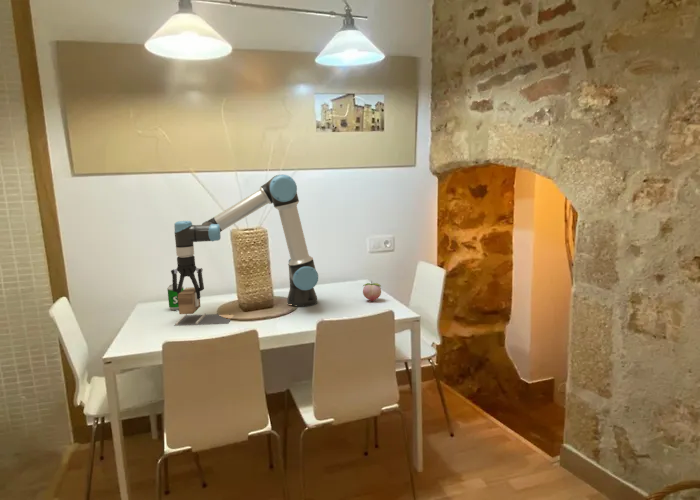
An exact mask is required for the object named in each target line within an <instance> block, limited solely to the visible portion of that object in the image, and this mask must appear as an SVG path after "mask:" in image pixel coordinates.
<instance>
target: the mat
mask: <svg viewBox="0 0 700 500" xmlns="http://www.w3.org/2000/svg"><path fill="white" fill-rule="evenodd" d="M218 314H219V313H214V314H213V313H210V314H206V313H203V314H183V316H182V317H180V319H178V320H177V321H176V323H175V324H174V325H173V326H174V327H177V326H179V327H180V326H203V325H204V326H205V325H228V324H230V323H231V321H232V320H230V319H226V318H223V317H221V316H219V315H218Z"/></svg>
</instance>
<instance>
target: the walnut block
mask: <svg viewBox="0 0 700 500" xmlns="http://www.w3.org/2000/svg"><path fill="white" fill-rule="evenodd" d="M195 292H196V290H195V288H194V286H193V287H185V288H184V290H183V291H182V292H180V293H179V294H178V304H179V310H178V313H179V314H178V315H185V314H187V315H194V314H195V313H196V312H197V310H198V309H200V308H201V298H200V299H199V306H198V307H196V305H195Z"/></svg>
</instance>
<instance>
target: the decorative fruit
mask: <svg viewBox="0 0 700 500" xmlns="http://www.w3.org/2000/svg"><path fill="white" fill-rule="evenodd" d="M362 287H363V290H362V294H363V296H364V298H366V299H367V300H369V301H371V302H374V301H376V300H377V299H379V297H381V294H382V288H381V287H382V285H381V284H379V283H377V282H376V283H375V282H374V283H373V281H371V283H369V282H367V283H365V284H363V286H362Z"/></svg>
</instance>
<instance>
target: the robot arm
mask: <svg viewBox="0 0 700 500" xmlns="http://www.w3.org/2000/svg"><path fill="white" fill-rule="evenodd" d="M297 191H298V188H297V183H296V181H295V180H294V179H293V178H292V177H291V176H289V175H287V174H277V175H274V176H273V177H272V178H270V180H268V181H267V182H265V183H264V184H262V185H261V186H260V187H259V189H258V190H256V191H254V192H253V193H251V194H250V195H248V196H246V197H245V198H243V199H242V200H240V201H238V202H236V203H235V204H233V205H231V206H230V207H228V208H227V209H225V210H224V211H222V212H220V213H218V214H217V215H215V216H213V217H211V218H210V219H208V220H205V221H204V222H202V224H193V222H192V221H191V220H179V221H176V222H175V223H174V226H173V227H174V241H175V252H176V256H177V257H176V262H177V264H176V265H177V267H176V268H173V269H171V270H170V273H171V277H172V280H171V281H172V284H173V292H177V295H178V294H179V293H180V292H181V291H182V290H181V289H182V286H184V280H185V278H186V277H189V278H190V280H191V282H192V285H193V287H194V288H195V290H196V292H195V305H196V307H198V306H199V299H200V300H201V292H202V291H203V290H204V289H205V287H204V277H203V268H202V267H201V268H199V267H197V266H196V258H195V256H194V255H195V247H194V246H195V245H194V243H198V242H199V243H200V242H215V241H220V240H221V232H223V231H224V230H226V229H228V228H229V227H231V226H233V225H235V224H236V223H238V222H239V221H241V220H242V219H245V217H247V216H250V215H251V214H254V213H255V212H256V211H259V209H261V208H264V206H266V205H268V204H269V205H272V204H273V207H274V209H276V210H277V211H278V214H279V219H280V223H281V225H282V230H283V233H284V237H285V242H286V245H287V249H288V253H289V259H288V264H287V265H288V277H289V289H288V290H289V292H288V294H287V295H288V296H287V299H286V300H287V301H286V303H288V304H292V305H297V306H298V307H297V308H299V307H301V308H302V307H310V306H314V305H316V304H317V303H318V301H319V300H318V296H317V293H316V291H315V286H317V284H318V281H319V273H318V271H317V269H316V266H315V262H314V261H315V260H314V258H313V257H312V256H311V255H310V254H309V250H308V247H307V243H306V239H305V235H304V230H303V226H302V222H301V218H300V213H299V209H298V204H299V202H300V200H299V196H298V192H297ZM178 273H179V279H178V275H177V274H178ZM195 273H197V278H198V281H197V278H196V275H195ZM178 280H179V281H178ZM177 284H178V289H177ZM288 304H287V305H288Z"/></svg>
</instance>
